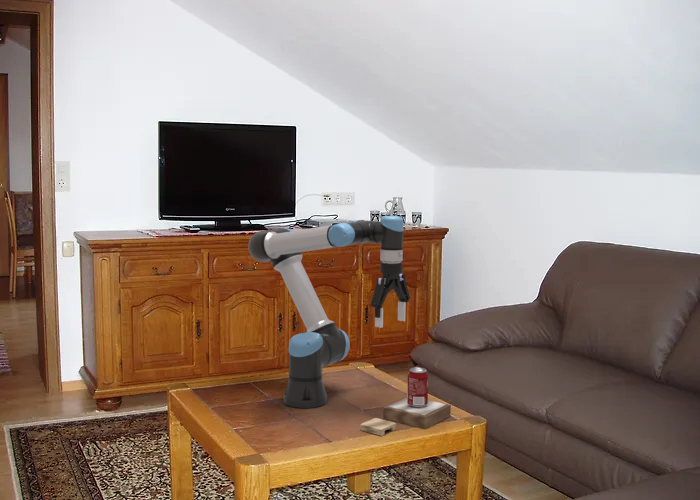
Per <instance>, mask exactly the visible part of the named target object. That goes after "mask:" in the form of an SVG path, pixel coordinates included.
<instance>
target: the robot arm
mask: <svg viewBox="0 0 700 500" xmlns="http://www.w3.org/2000/svg"><path fill="white" fill-rule="evenodd" d="M404 231H405V229H404V219H403V217H402V216H398V215H385V216H384V215H383V216H381V218H380V221H375V220H364V219H355V220H353V221H351V222H339V223H338V222H337V223H336V224H335V223H334V224H330V225H324V226H317V227H312V228H304V229H299V230H298V229H297V230H293V229H291V228H284V227H280V228H276V229H275V228H274V229H268V230H267V229H265V230H259V231H257V232H255V233H253V235H252V236H250V239H249V241H248V244H247V245H248V246H247V249H248V252H249V254H250V256H251V257H252V258H253V260H255V261H257V262H259V263H271V265H272V267H273V269H274V270H275V271H277V272H279V273H280V275H281V277H282V280H283V282H284V284H285V286H286V287H287V289H288V292H289V294H290V296H291V299H292V301H293V302H294V303H293V304H295V307H296V309H297V312H298V314H299V315H300V318H301V320H302V322H303V324H304V326H305V329H306V332H303V333H301V332H300V333H297V334H295V335H293V336H292V337H291V338H290V339H289V341H288V382H287V384H286V387H285V391H284V394H283V403H284V404H285V405H287V406H289V407H293V408H298V409H311V408H318V407H321V406H324V405H326V404H327V403H328V394H327V392H326V388H325V384H324V381H323V368H324V367H328V366H330V365H332V364H337V363H339V362H340V361H342V360H344V359H345V358H346V357H347V356H348V354H349V350H350V346H351V345H350V338H349V336H348V334H347V333H346V332H345V331H344V330H342V329H340V328H338V326H337V325H336V323H335V321H333V320H330V319H329V318H328V316H327V314H326V312H325V310H324V308H323V305H322V303H321V301H320V299H319V297H318V295H317V293H316V291H315V288H314V287H313V284H312V282H311V280H310V278H309V276H308V273H307V272H306V269H305V267H304V266H303V263H302V259H303V254H302V253H304V252H309V251H311V252H312V251H318V250H319V251H320V250H325V249H333V248H343V247H349V246H353V245H359V244H366V243H367V244H368V243H370V244H380V258H379V259H380V261H381V262H380V264H379V265H380V268H379V270H380V271H379V272H380V274H382V277H377V278H376V284H375V287H374V290H373V295H372V298H371V303H370V307H371V308H373V309H374V327H375V328H384V307H383V305H384V303H385V301H386V298H387V296H388V294H389V293H390V292H391V291H392V290H394V293H395V294H396V296H397V298H398V300H399V301H398V302H397V321H401V322H406V309H407V308H406V306H407V303H409V302H410V299H411V295H410V293H409V288H408V284H407V281H406V274H404V273H403V269H404V267H403V265H404V264H403V260H404V259H403V255H404V254H403V253H404V252H403V249H404V245H403V244H404Z"/></svg>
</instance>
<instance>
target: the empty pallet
mask: <svg viewBox="0 0 700 500" xmlns="http://www.w3.org/2000/svg"><path fill="white" fill-rule="evenodd" d="M359 426H360V431H362V432H366V433H369V434H374V435H376V436H380V437H383V436H385V434H386V433H385V432H386V431H387V430H389V431H392V432H394V431H395V430H396V426H397V423H396V422H395V421H391V420H387V419H383V418H382V419H381V418H378V417H373V418H371V419H370V420H369V419H368V420H366V421H365V422H362V423H360V424H359Z"/></svg>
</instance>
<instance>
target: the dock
mask: <svg viewBox="0 0 700 500" xmlns="http://www.w3.org/2000/svg"><path fill="white" fill-rule="evenodd" d="M451 407H452V406H451V404H447V403H443V402H439V401H434V400H430V399H428V404H427V405H426V406H424V407H421V408H416V407H411V406H410V405H408V404H407V397H404V398H401V399H399V400H397V401H395V402H393V403H390V404H387V405H386V406H384V407H383V408H382V409H383V413H382V415H383V416H382V417H383V418H382V419H383V420H387V421H391V422H395V423H396V422H397V423H401V424H404V425H408V426H412V427H415V428H421V429H424V430H426V429H428V428H430V427H432V426H433V425H436V424H437V423H439V422H441V421H443V420H445V419H448V418H450V417H451V414H452V413H451V411H452V410H451Z"/></svg>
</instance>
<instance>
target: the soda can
mask: <svg viewBox="0 0 700 500" xmlns="http://www.w3.org/2000/svg"><path fill="white" fill-rule="evenodd" d="M406 389H407V390H406V391H407V393H406V395H407V404H408V405H410V406H411V407H416V408H421V407H424V406H426V405H427V404H428V400H429V374H428V372H427V369H426V368H424V367H412V368H409V372H408V373H407V388H406Z"/></svg>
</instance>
